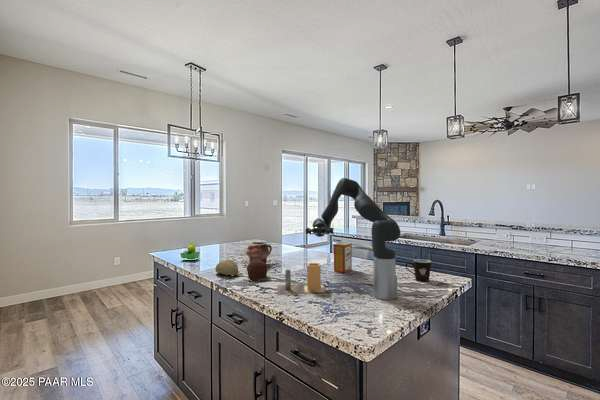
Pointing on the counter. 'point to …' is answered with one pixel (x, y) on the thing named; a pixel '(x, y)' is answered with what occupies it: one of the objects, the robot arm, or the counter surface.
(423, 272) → the coffee mug
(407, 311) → the counter surface
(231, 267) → the bread roll
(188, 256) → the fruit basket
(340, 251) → the baking soda box
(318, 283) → the sleeve
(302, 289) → the post board
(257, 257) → the reddish brown pitcher
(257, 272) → the muffin
